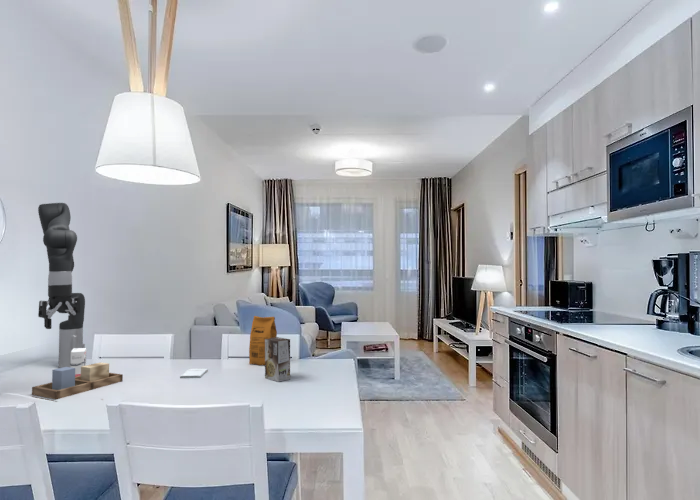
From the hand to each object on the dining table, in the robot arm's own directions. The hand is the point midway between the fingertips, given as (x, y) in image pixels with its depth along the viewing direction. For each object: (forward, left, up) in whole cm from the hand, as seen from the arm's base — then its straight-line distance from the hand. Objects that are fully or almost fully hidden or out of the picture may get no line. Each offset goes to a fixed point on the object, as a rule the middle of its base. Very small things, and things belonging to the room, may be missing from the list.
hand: (59, 326), depth 166 cm
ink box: (-14, -9, -23) cm, 28 cm away
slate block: (+3, +7, -22) cm, 24 cm away
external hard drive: (-38, +29, -24) cm, 54 cm away
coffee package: (-68, +43, -23) cm, 84 cm away
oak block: (-9, +7, -22) cm, 25 cm away
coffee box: (-47, +65, -23) cm, 83 cm away
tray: (-3, +7, -23) cm, 24 cm away
